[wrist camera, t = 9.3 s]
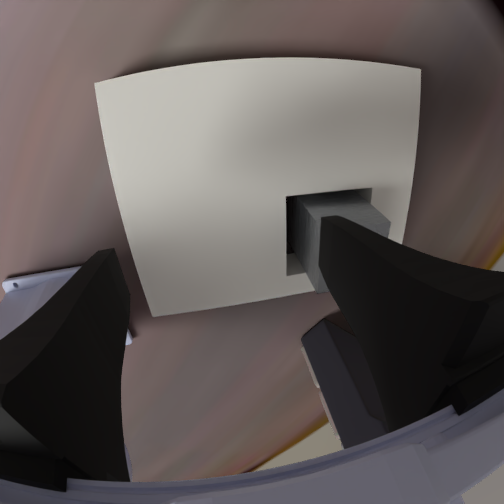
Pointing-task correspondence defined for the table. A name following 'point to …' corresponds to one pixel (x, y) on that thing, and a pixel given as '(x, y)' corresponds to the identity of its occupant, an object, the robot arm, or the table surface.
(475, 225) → the table surface
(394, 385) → the robot arm
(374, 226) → the pin
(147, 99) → the slot board
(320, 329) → the dark grey rectangular block
